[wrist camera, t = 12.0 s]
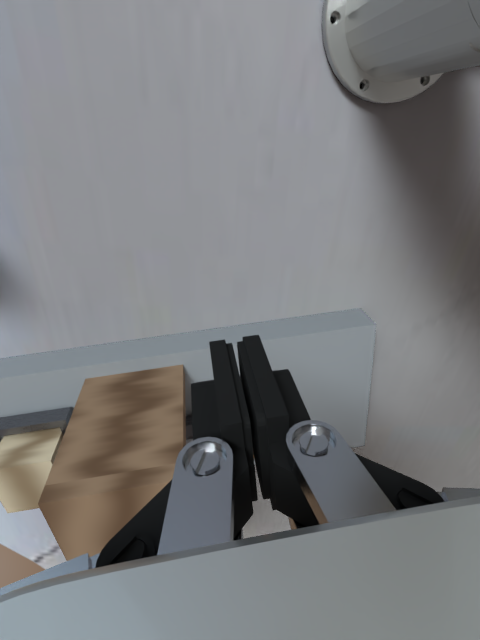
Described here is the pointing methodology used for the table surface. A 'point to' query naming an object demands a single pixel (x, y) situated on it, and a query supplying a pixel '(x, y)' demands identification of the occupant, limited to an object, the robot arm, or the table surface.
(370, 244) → the table surface
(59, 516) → the tunnel
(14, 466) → the block
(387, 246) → the table surface
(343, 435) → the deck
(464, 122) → the table surface
